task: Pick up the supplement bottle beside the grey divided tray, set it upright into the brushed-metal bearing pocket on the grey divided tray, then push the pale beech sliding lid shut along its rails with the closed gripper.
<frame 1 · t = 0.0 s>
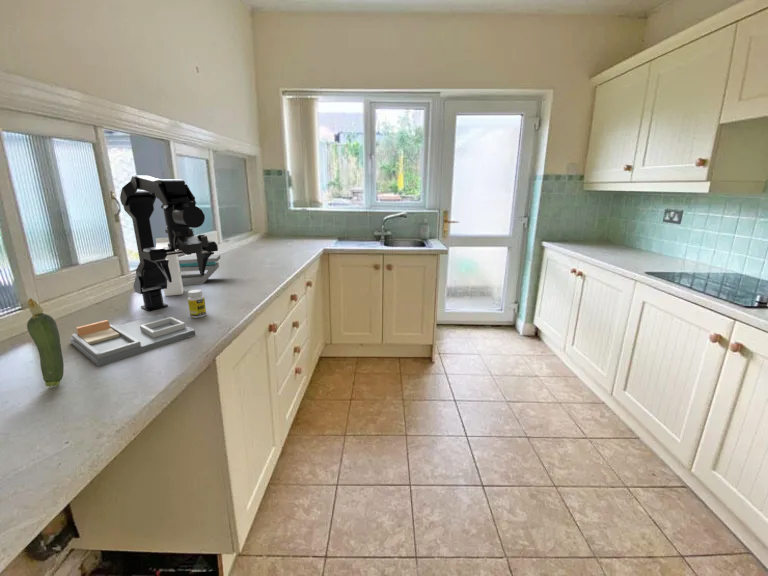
hand: (186, 278, 106), 15 cm above the countertop, fingers open, 9 cm apart
lid: (98, 331, 98), point 3 cm above the countertop, slide at 0.0 cm
vegetable: (59, 385, 78), on the countertop
grey divided tray: (134, 338, 101), on the countertop
supplement bottle: (198, 316, 118), on the countertop
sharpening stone: (191, 282, 159), on the countertop
milk: (174, 293, 143), on the countertop
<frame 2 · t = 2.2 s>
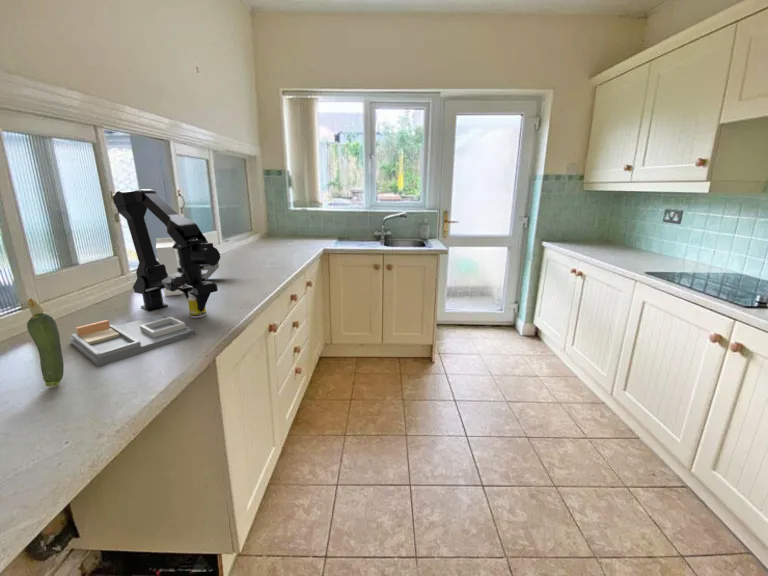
hand: (197, 309, 118), 2 cm above the countertop, fingers closed on supplement bottle, 5 cm apart
supplement bottle: (198, 316, 118), on the countertop, touching gripper
everything else where it was.
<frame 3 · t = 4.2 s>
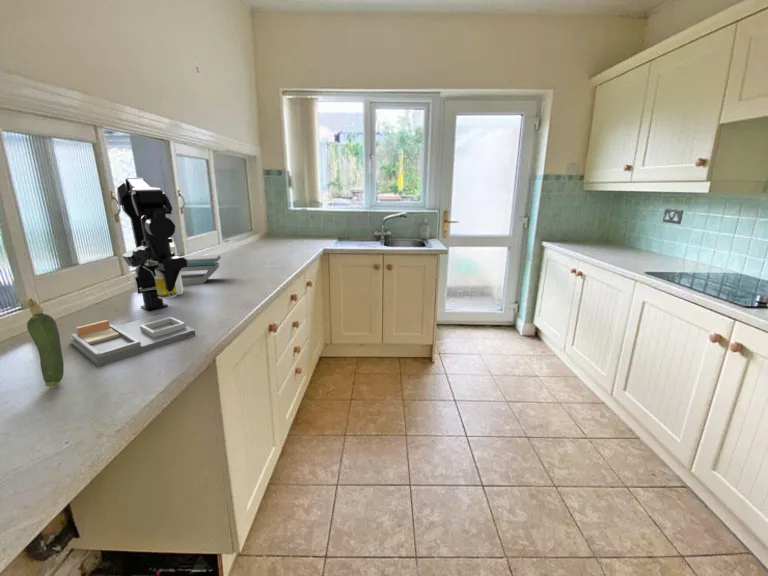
hand: (166, 289, 104), 12 cm above the countertop, fingers closed on supplement bottle, 5 cm apart
supplement bottle: (168, 297, 104), point 10 cm above the countertop, touching gripper
everything else where it was.
when the fingers open (4 cm above the countertop, at t = 6.2 s): supplement bottle stays where it is, resting on grey divided tray.
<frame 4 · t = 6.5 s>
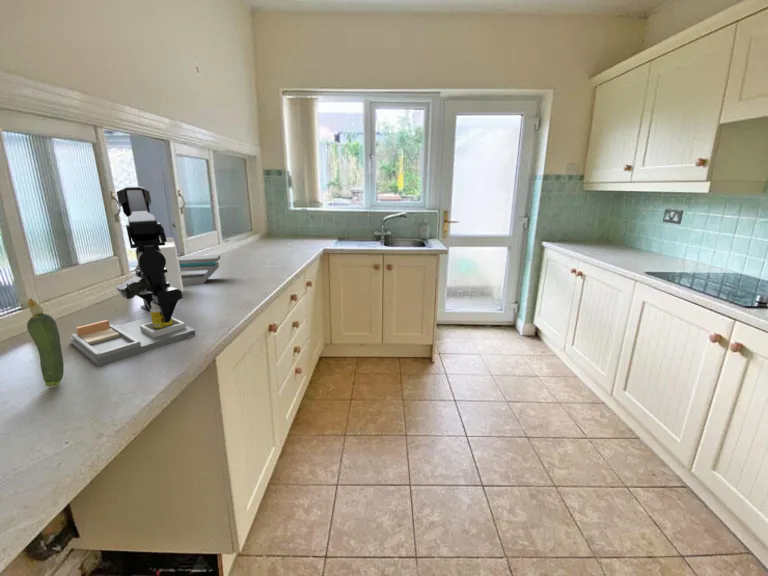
hand: (161, 319, 103), 4 cm above the countertop, fingers open, 7 cm apart
supplement bottle: (163, 329, 104), point 1 cm above the countertop, touching grey divided tray
everything else where it was.
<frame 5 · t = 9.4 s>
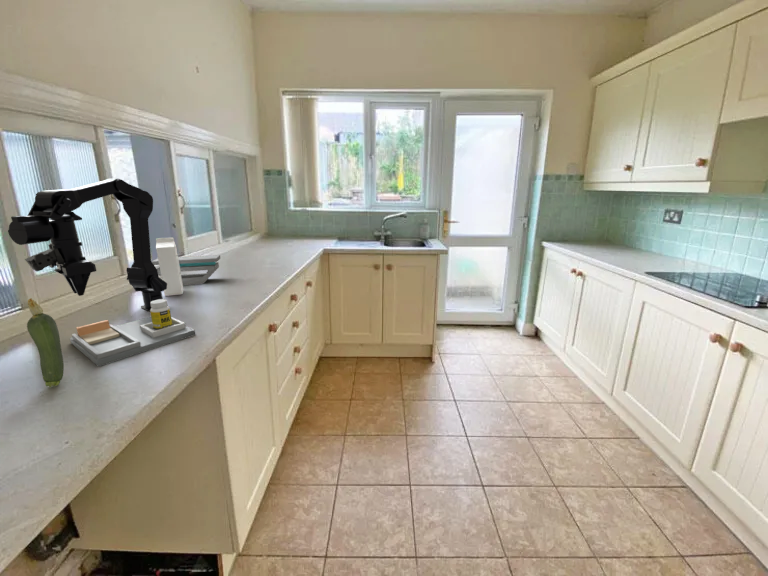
hand: (78, 294, 101), 12 cm above the countertop, fingers open, 4 cm apart
nothing on the countertop moved.
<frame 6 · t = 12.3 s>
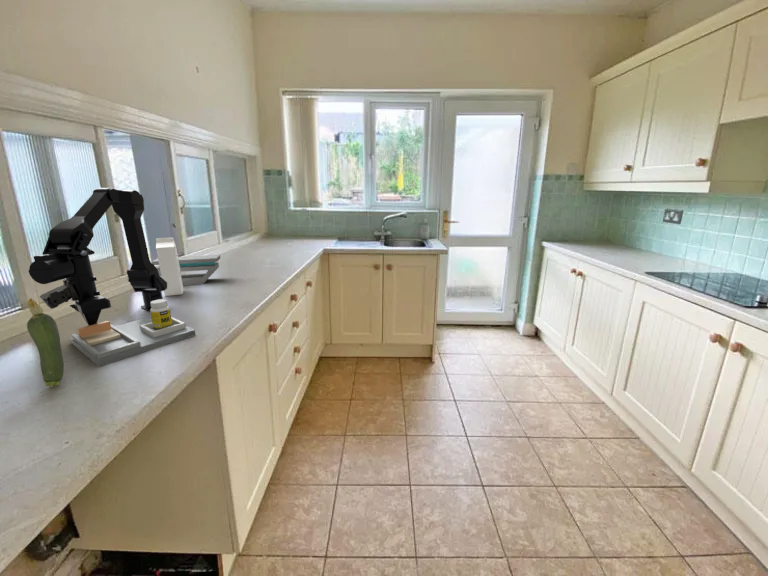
hand: (92, 328, 100), 3 cm above the countertop, fingers closed
lid: (99, 332, 97), point 3 cm above the countertop, slide at 1.0 cm, touching gripper
everything else where it was.
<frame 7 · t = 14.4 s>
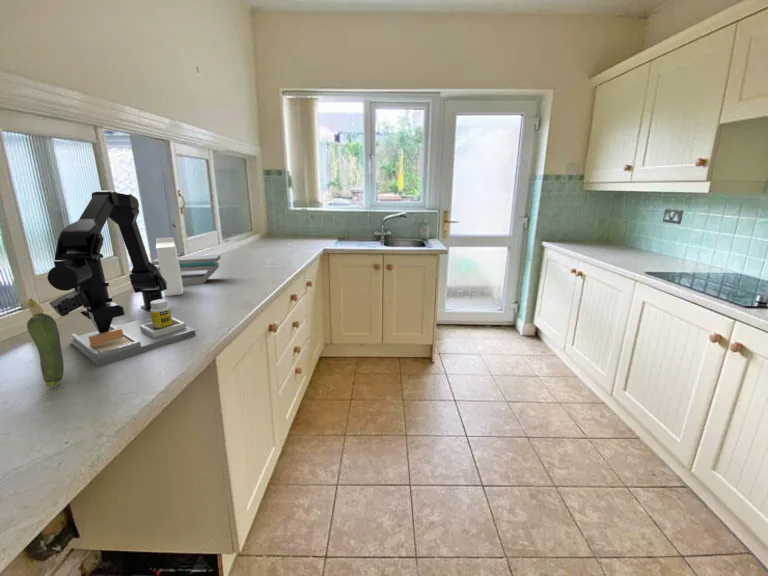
hand: (104, 336, 95), 3 cm above the countertop, fingers closed
lid: (111, 341, 92), point 3 cm above the countertop, slide at 10.1 cm, touching gripper
everything else where it was.
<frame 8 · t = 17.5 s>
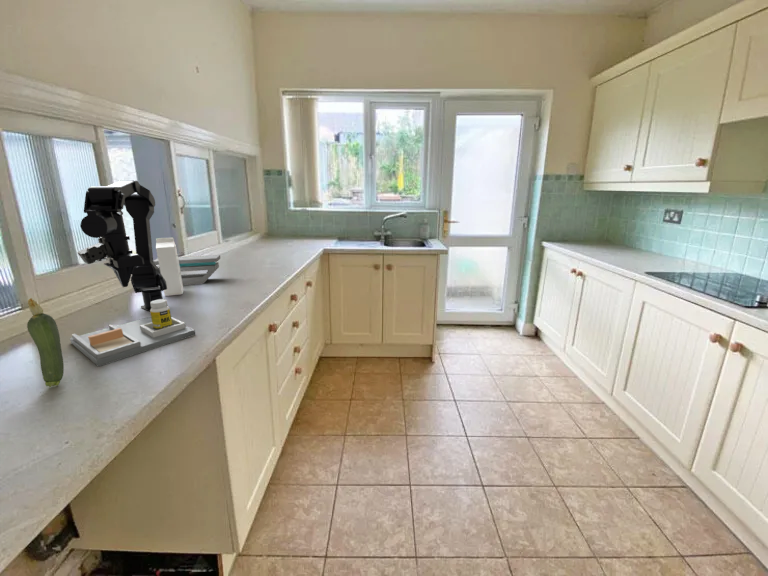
hand: (125, 286, 105), 13 cm above the countertop, fingers closed
lid: (111, 341, 92), point 3 cm above the countertop, slide at 10.0 cm
everything else where it was.
at the end: supplement bottle 0.1 cm from the target spot on the grey divided tray, point 1.3 cm above the grey divided tray's base; supplement bottle tilted 0°; lid slide at 10.0 cm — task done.
